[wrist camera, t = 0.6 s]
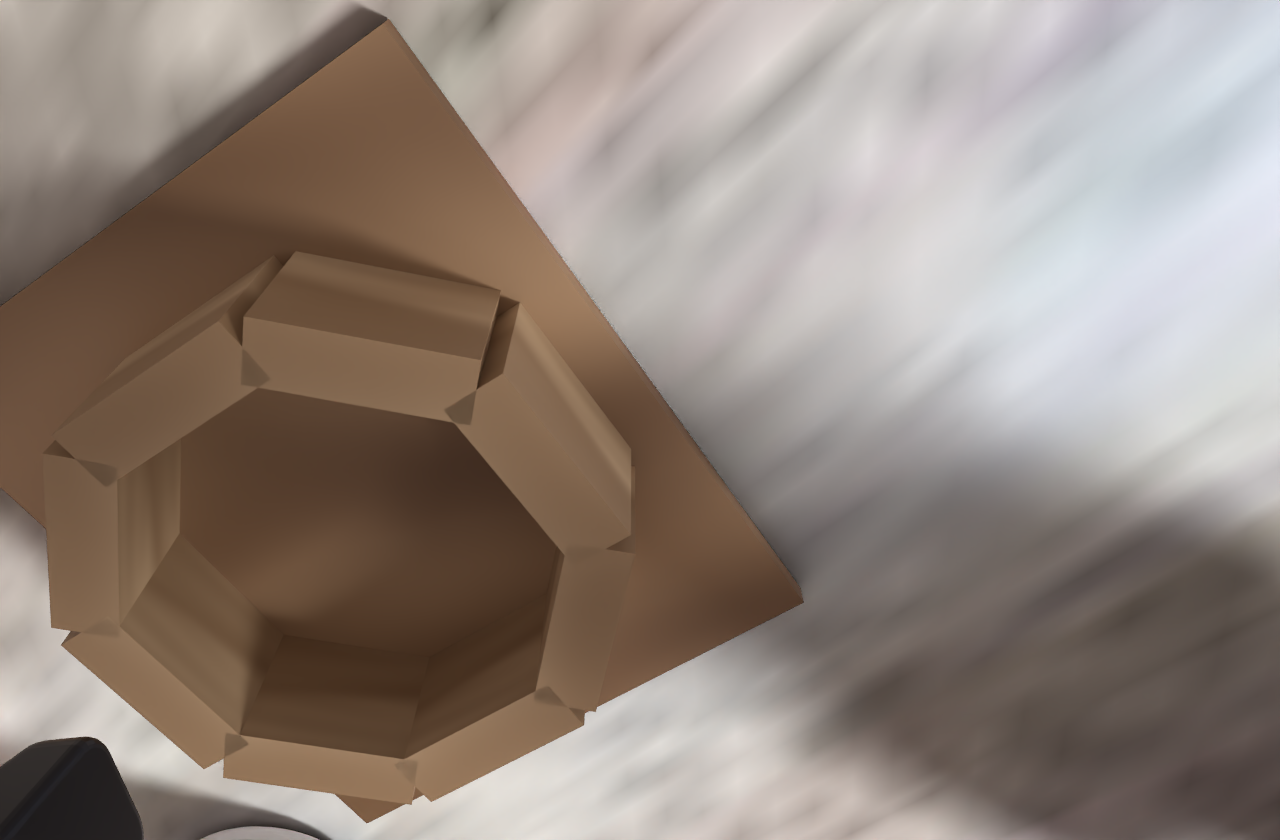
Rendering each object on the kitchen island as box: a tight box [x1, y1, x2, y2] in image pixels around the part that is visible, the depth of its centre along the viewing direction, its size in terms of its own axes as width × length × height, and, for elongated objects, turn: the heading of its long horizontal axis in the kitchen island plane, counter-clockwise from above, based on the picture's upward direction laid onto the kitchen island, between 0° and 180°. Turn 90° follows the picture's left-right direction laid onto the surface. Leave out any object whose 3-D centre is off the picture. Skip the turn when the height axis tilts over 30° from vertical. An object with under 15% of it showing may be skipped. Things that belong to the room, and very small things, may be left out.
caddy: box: [0, 19, 804, 823], centre depth 21 cm, size 14×12×4 cm
